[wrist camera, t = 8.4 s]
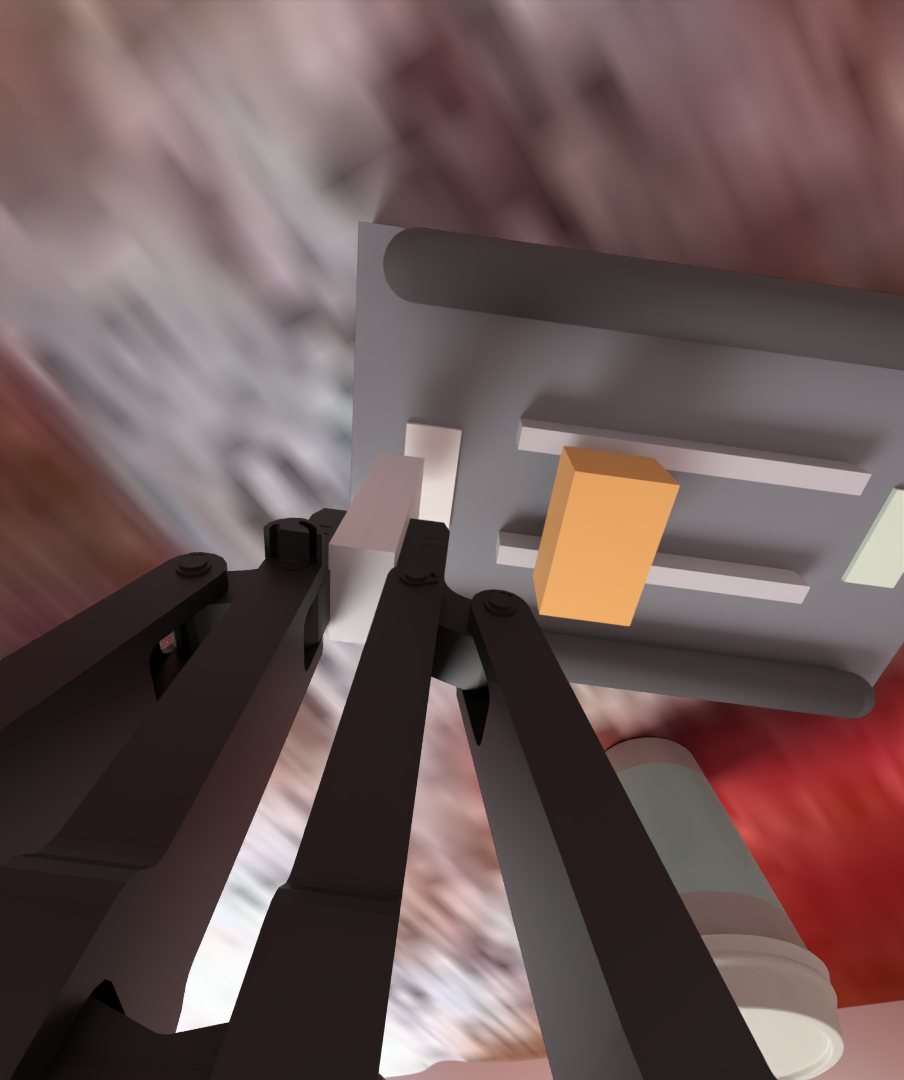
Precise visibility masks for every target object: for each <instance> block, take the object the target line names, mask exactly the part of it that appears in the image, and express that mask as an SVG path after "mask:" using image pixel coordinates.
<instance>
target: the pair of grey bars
mask: <svg viewBox="0 0 904 1080" xmlns="http://www.w3.org/2000/svg"><path fill="white" fill-rule="evenodd" d="M383 270H384V275H385V278H386V281H387V283H388V285H389V286H390V288H391V290H392V291H393V292H394V293H395V294H396V295H397V296H399V297H400V298H402V299H404V300H406V301H408V302H412V303H418V304H425V305H432V306H439V307H446V308H454V309H461V310H468V311H475V312H483V313H490V314H497V315H504V316H512V317H519V318H526V319H533V320H541V321H548V322H555V323H562V324H570V325H577V326H584V327H591V328H598V329H606V330H613V331H620V332H627V333H635V334H642V335H649V336H656V337H664V338H671V339H678V340H685V341H693V342H700V343H707V344H714V345H721V346H729V347H736V348H743V349H750V350H758V351H765V352H772V353H779V354H787V355H794V356H801V357H808V358H816V359H823V360H830V361H837V362H845V363H852V364H859V365H866V366H873V367H881V368H888V369H895V370H902V371H904V295H897V294H890V293H883V292H876V291H868V290H861V289H854V288H847V287H840V286H833V285H826V284H818V283H811V282H804V281H797V280H790V279H783V278H776V277H768V276H761V275H754V274H747V273H740V272H733V271H726V270H718V269H711V268H704V267H697V266H690V265H683V264H675V263H668V262H661V261H654V260H647V259H640V258H633V257H625V256H618V255H611V254H604V253H597V252H590V251H583V250H575V249H568V248H561V247H554V246H547V245H540V244H533V243H525V242H518V241H511V240H504V239H497V238H490V237H482V236H475V235H468V234H461V233H454V232H447V231H440V230H432V229H425V228H409V229H405V230H403V231H401V232H399V233H398V234H396V235H395V236H394V237H393V238H392V239H391V241H390V242H389V244H388V246H387V248H386V250H385V254H384V258H383ZM542 632H543V634H544V636H545V638H546V640H547V642H548V644H549V646H550V648H551V649H552V651H553V653H554V655H555V657H556V659H557V661H558V663H559V665H560V667H561V669H562V671H563V672H564V674H565V676H566V678H567V680H568V682H571V683H578V684H586V685H594V686H601V687H609V688H617V689H625V690H632V691H640V692H648V693H655V694H663V695H671V696H678V697H686V698H694V699H701V700H709V701H717V702H724V703H732V704H740V705H747V706H755V707H763V708H771V709H778V710H786V711H794V712H801V713H809V714H817V715H824V716H832V717H840V718H847V719H855V718H860V717H863V716H865V715H867V714H868V713H869V712H870V711H871V710H872V709H873V707H874V705H875V700H876V699H875V692H874V690H873V688H872V686H871V685H870V684H869V683H868V681H866V680H865V679H864V678H863V677H861V676H860V675H858V674H855V673H853V672H849V671H843V670H836V669H828V668H821V667H813V666H805V665H798V664H790V663H782V662H775V661H767V660H760V659H752V658H744V657H737V656H729V655H721V654H714V653H706V652H699V651H691V650H683V649H676V648H668V647H660V646H653V645H645V644H638V643H630V642H622V641H615V640H607V639H599V638H592V637H584V636H577V635H569V634H561V633H554V632H546V631H542Z"/></svg>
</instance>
